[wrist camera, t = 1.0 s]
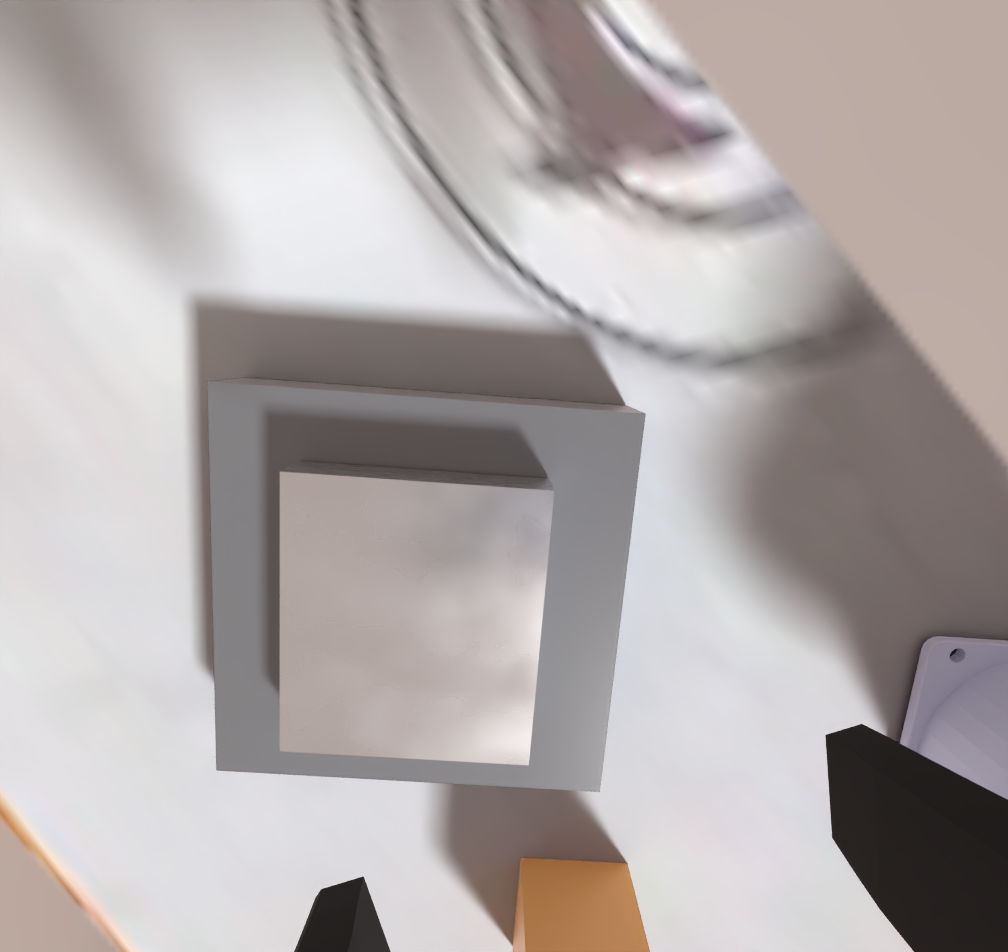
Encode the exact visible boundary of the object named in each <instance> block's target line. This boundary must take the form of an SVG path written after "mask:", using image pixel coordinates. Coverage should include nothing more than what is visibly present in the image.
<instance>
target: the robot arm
mask: <svg viewBox="0 0 1008 952" xmlns="http://www.w3.org/2000/svg"><path fill="white" fill-rule="evenodd" d="M954 649H957V651H956V652H955V654H954V655H952V656H950V654H951V652H952V651H953V650H954ZM826 748H827V763H828V779H829V794H830V809H831V825H832V838H833V839H834V841H835V843H836V844H837V846H838V847H839V849H840V850H841V852H842V853H843V855H844V856H845V858H846V859H847V861H848V863H849V864H850V866H851V867H852V869H853V870H854V872H855V873H856V875H857V876H858V878H859V879H860V881H861V882H862V884H863V885H864V887H865V888H866V890H867V891H868V892H869V894H870V895H871V897H872V898H873V900H874V901H875V903H876V904H877V906H878V907H879V909H880V910H881V911H882V912H883V914H884V915H885V916H886V917H887V919H888V920H889V921H890V922H891V924H892V925H893V926H894V927H895V929H896V930H897V931H898V932H899V934H900V935H901V936H902V937H903V939H904V940H905V941H906V942H907V943H908V945H909V946H910V947H911V948H912V950H913V951H914V952H1008V641H1007V640H992V639H976V638H960V637H945V636H936V637H932V638H930V639H928V640H927V641H926V642H925V643H924V644H923V647H922V649H921V653H920V658H919V662H918V666H917V671H916V675H915V679H914V684H913V688H912V692H911V697H910V701H909V705H908V710H907V714H906V718H905V723H904V727H903V731H902V736H901V740H900V743H898V742H896V741H894V740H892V739H890V738H888V737H887V736H885V735H883V734H881V733H879V732H877V731H875V730H873V729H871V728H869V727H867V726H865V725H863V724H860V725H857V726H854V727H850V728H847V729H844V730H841V731H837V732H834V733H831V734H828V735H826ZM294 952H390V949H389V946H388V944H387V941H386V938H385V935H384V932H383V930H382V927H381V924H380V921H379V918H378V916H377V913H376V910H375V907H374V904H373V902H372V899H371V896H370V893H369V890H368V888H367V885H366V882H365V879H364V877H360V878H357V879H354V880H350V881H347V882H344V883H341V884H337V885H334V886H331V887H328V888H324V889H321V891H320V892H319V894H318V895H317V897H316V898H315V901H314V903H313V906H312V908H311V911H310V914H309V916H308V919H307V921H306V924H305V926H304V929H303V931H302V934H301V936H300V939H299V941H298V944H297V946H296V949H295V951H294Z"/></svg>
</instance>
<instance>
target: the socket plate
mask: <svg viewBox="0 0 1008 952" xmlns="http://www.w3.org/2000/svg"><path fill="white" fill-rule="evenodd" d="M207 386H208V429H209V472H210V514H211V557H212V600H213V643H214V685H215V728H216V770H218V771H236V772H254V773H271V774H289V775H307V776H325V777H342V778H360V779H378V780H396V781H413V782H431V783H449V784H467V785H485V786H502V787H520V788H538V789H556V790H573V791H591V792H600V785H601V777H602V768H603V760H604V752H605V744H606V735H607V727H608V719H609V711H610V702H611V694H612V686H613V678H614V669H615V661H616V653H617V645H618V636H619V628H620V620H621V612H622V603H623V595H624V587H625V579H626V570H627V562H628V554H629V546H630V537H631V529H632V521H633V512H634V504H635V496H636V488H637V479H638V471H639V463H640V455H641V446H642V438H643V430H644V422H645V413H643V412H640V411H638V410H636V409H633V408H631V407H629V406H626V405H612V404H599V403H585V402H572V401H558V400H545V399H531V398H518V397H504V396H491V395H477V394H463V393H450V392H436V391H423V390H409V389H396V388H382V387H369V386H355V385H342V384H328V383H314V382H301V381H287V380H274V379H260V378H247V377H243V378H234V379H225V380H216V381H207ZM298 461H306V462H320V463H334V464H349V465H363V466H377V467H391V468H406V469H420V470H434V471H448V472H462V473H477V474H491V475H505V476H519V477H534V478H548V479H550V481H551V484H552V486H553V488H554V501H553V512H552V522H551V533H550V544H549V554H548V565H547V576H546V587H545V597H544V608H543V619H542V629H541V640H540V651H539V661H538V672H537V683H536V694H535V704H534V715H533V726H532V736H531V747H530V758H529V765H512V764H495V763H477V762H460V761H442V760H425V759H407V758H390V757H373V756H355V755H338V754H320V753H303V752H285V751H280V471H282V470H283V469H285V468H287V467H289V466H290V465H292V464H294V463H296V462H298Z"/></svg>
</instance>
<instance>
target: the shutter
mask: <svg viewBox="0 0 1008 952" xmlns="http://www.w3.org/2000/svg"><path fill="white" fill-rule="evenodd" d="M553 501H554V488H553V486H552V484H551V481H550V479H548V478H534V477H519V476H505V475H491V474H477V473H462V472H448V471H434V470H420V469H406V468H391V467H377V466H363V465H349V464H334V463H320V462H306V461H298V462H296V463H294V464H292V465H290V466H289V467H287V468H285V469H283V470H282V471H280V751H285V752H303V753H320V754H338V755H355V756H373V757H390V758H407V759H425V760H442V761H460V762H477V763H495V764H512V765H529V758H530V747H531V736H532V726H533V715H534V704H535V694H536V683H537V672H538V661H539V651H540V640H541V629H542V619H543V608H544V597H545V587H546V576H547V565H548V554H549V544H550V533H551V522H552V512H553Z"/></svg>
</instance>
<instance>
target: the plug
mask: <svg viewBox="0 0 1008 952" xmlns="http://www.w3.org/2000/svg"><path fill="white" fill-rule="evenodd" d="M513 952H650V950H649V946H648V943H647V939H646V935H645V931H644V927H643V923H642V919H641V915H640V911H639V907H638V903H637V899H636V895H635V892H634V888H633V884H632V880H631V876H630V872H629V868H628V864H627V863H615V862H596V861H577V860H558V859H539V858H521V861H520V872H519V883H518V893H517V904H516V915H515V925H514V936H513Z"/></svg>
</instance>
